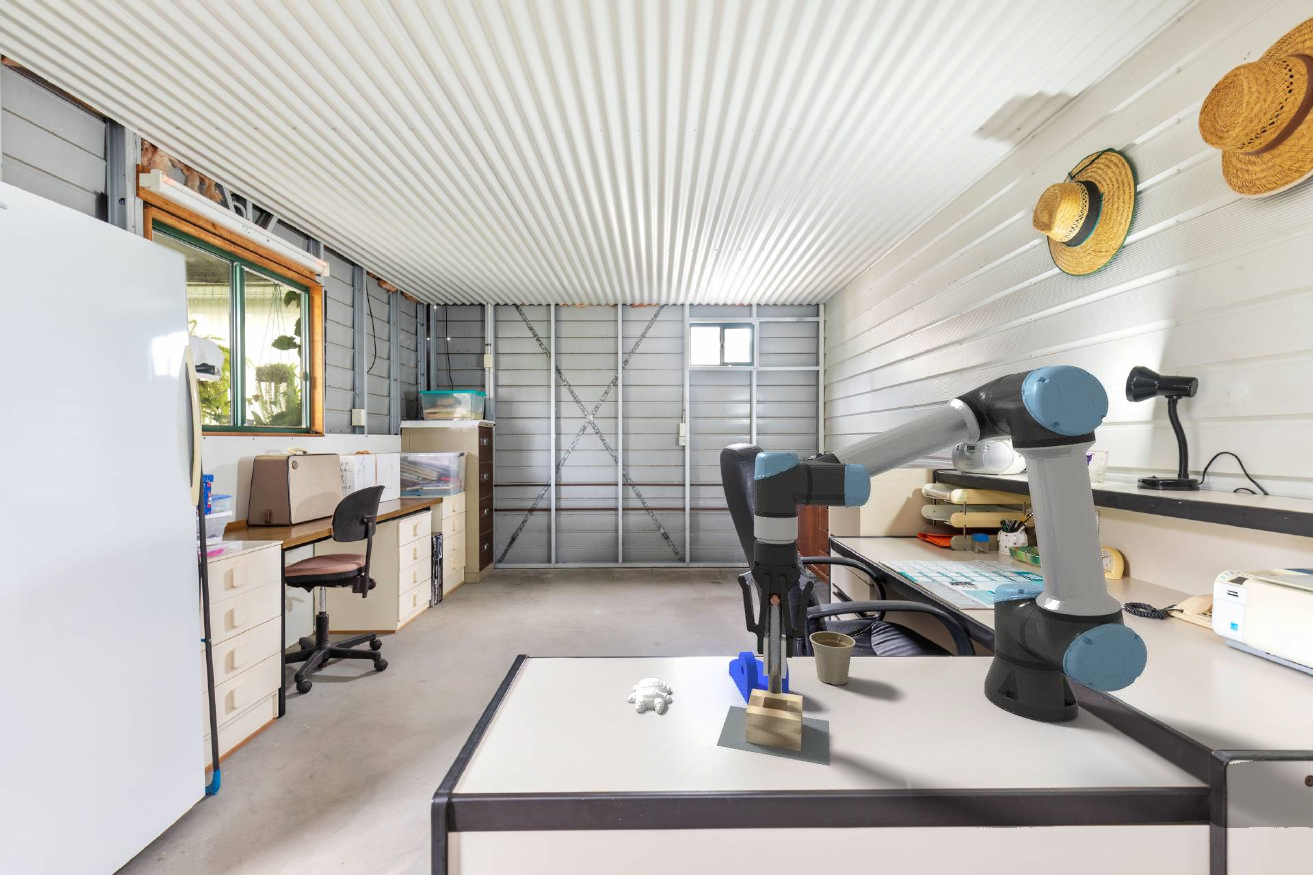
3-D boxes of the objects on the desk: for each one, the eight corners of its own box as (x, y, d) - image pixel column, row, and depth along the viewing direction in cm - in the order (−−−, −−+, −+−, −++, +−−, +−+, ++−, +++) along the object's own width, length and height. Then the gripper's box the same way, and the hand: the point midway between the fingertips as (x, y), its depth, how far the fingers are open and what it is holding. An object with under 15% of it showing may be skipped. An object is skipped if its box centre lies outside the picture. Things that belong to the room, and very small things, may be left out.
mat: (828, 722, 97) (828, 720, 97) (829, 766, 83) (829, 765, 83) (730, 707, 102) (730, 705, 102) (716, 746, 89) (716, 745, 89)
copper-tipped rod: (783, 688, 94) (783, 590, 94) (782, 694, 91) (782, 594, 91) (768, 686, 94) (768, 589, 95) (766, 692, 92) (767, 592, 92)
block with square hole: (802, 723, 96) (802, 695, 96) (800, 751, 87) (800, 720, 87) (752, 715, 98) (752, 688, 98) (745, 741, 90) (745, 712, 90)
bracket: (788, 704, 104) (788, 658, 104) (747, 706, 103) (747, 660, 103) (760, 666, 121) (760, 626, 122) (725, 667, 121) (725, 627, 121)
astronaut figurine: (622, 713, 100) (622, 697, 100) (635, 685, 112) (635, 670, 112) (668, 717, 99) (668, 700, 99) (676, 688, 111) (676, 673, 111)
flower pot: (840, 693, 108) (840, 651, 108) (800, 678, 115) (801, 638, 115) (863, 680, 114) (863, 639, 114) (824, 666, 121) (824, 628, 121)
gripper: (821, 538, 94) (821, 670, 94) (735, 533, 99) (734, 659, 99) (821, 546, 87) (821, 689, 87) (728, 540, 92) (727, 676, 92)
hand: (775, 673), depth 93 cm, fingers closed on copper-tipped rod, 2 cm apart
